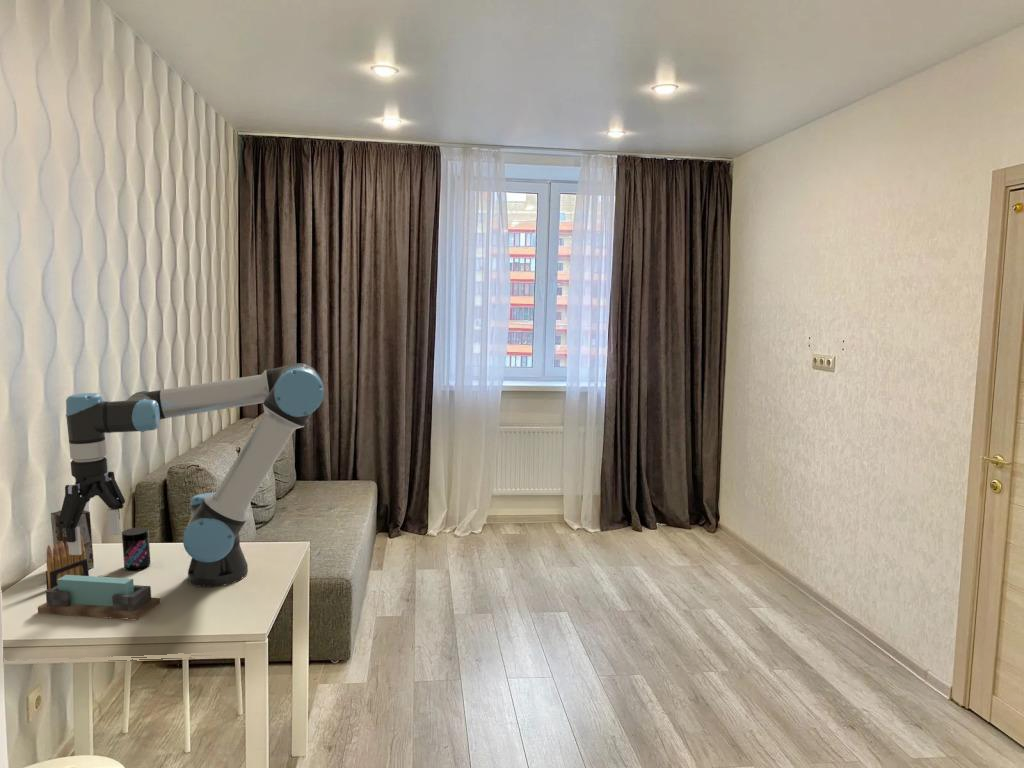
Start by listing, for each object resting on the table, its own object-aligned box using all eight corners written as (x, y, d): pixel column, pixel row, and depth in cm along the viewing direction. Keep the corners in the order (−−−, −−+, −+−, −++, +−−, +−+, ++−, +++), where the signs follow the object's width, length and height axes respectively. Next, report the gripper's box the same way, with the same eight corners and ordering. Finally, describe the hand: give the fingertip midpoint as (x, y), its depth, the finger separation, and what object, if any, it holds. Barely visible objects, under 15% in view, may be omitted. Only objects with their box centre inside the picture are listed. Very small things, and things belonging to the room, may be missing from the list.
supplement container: (118, 570, 205) (115, 534, 203) (136, 561, 211) (133, 526, 210) (138, 572, 203) (136, 536, 202) (156, 563, 210) (154, 528, 208)
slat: (134, 602, 181) (133, 578, 180) (126, 607, 178) (125, 583, 177) (68, 597, 183) (66, 574, 182) (59, 602, 180) (57, 579, 179)
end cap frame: (160, 603, 183) (159, 584, 183) (137, 619, 174) (135, 599, 174) (65, 597, 187) (63, 578, 186) (38, 613, 178) (36, 593, 177)
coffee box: (95, 567, 207) (91, 511, 205) (71, 574, 201) (66, 517, 199) (78, 560, 212) (73, 506, 210) (54, 568, 206) (49, 512, 204)
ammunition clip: (51, 591, 191) (47, 546, 189) (46, 590, 191) (42, 545, 190) (89, 576, 200) (85, 533, 199) (84, 575, 201) (81, 533, 200)
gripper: (109, 446, 188) (115, 526, 191) (33, 471, 164) (42, 562, 167) (136, 447, 187) (142, 527, 190) (64, 472, 163) (72, 564, 166)
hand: (95, 544), depth 178 cm, fingers open, 13 cm apart
